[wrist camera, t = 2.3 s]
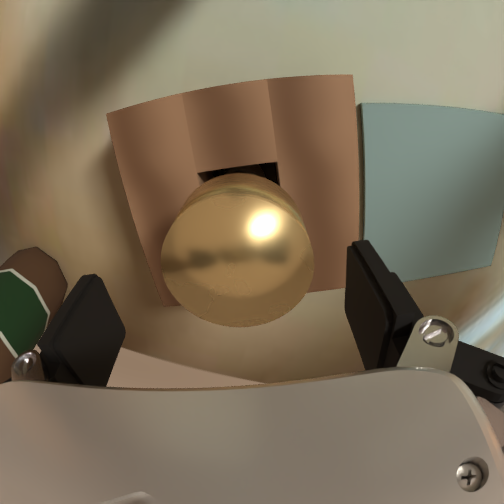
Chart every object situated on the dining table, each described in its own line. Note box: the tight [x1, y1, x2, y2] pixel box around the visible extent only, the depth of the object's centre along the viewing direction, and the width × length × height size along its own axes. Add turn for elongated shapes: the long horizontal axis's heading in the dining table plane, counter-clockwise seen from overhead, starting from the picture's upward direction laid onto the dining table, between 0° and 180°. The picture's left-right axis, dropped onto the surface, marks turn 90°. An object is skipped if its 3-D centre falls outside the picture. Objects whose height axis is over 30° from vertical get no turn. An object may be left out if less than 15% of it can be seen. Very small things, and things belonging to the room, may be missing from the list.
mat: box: [360, 103, 504, 282], centre depth 22 cm, size 16×16×1 cm
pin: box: [161, 164, 314, 327], centre depth 17 cm, size 6×6×12 cm
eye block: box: [106, 75, 359, 306], centre depth 20 cm, size 14×14×5 cm
